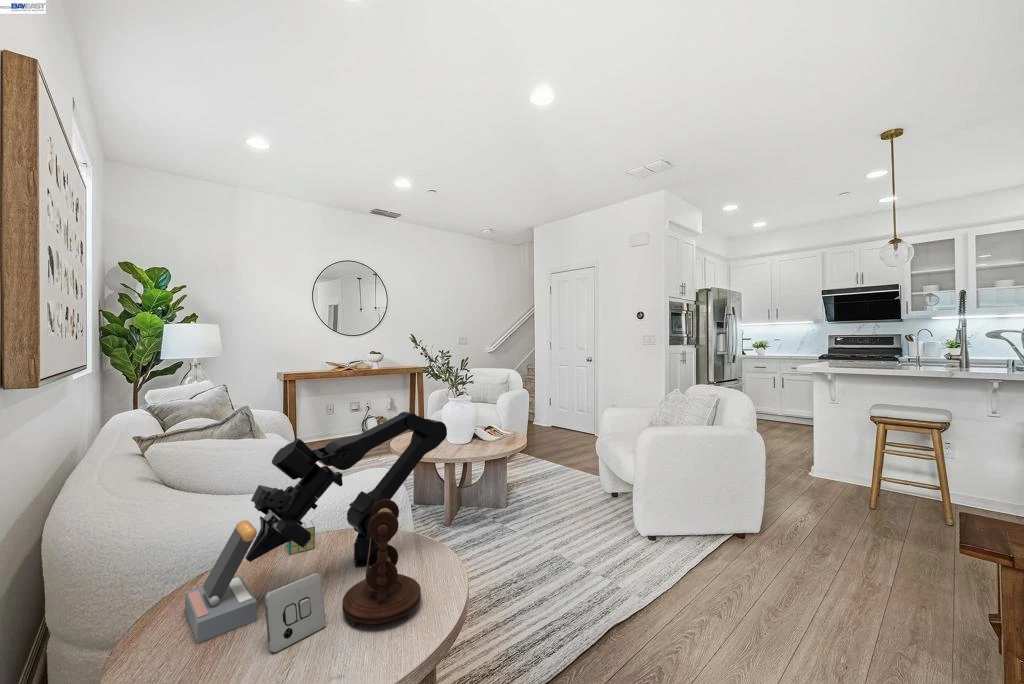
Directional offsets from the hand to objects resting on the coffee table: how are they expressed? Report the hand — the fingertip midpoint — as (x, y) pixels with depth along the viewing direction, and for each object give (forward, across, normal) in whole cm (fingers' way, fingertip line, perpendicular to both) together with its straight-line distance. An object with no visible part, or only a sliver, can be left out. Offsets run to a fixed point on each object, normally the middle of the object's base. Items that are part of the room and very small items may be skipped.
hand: (247, 560), depth 83 cm
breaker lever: (+7, 0, -1) cm, 7 cm away
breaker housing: (+9, 0, +3) cm, 10 cm away
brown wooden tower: (-7, +19, +20) cm, 28 cm away
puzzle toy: (-5, -18, +18) cm, 26 cm away
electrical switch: (+4, +15, +9) cm, 18 cm away
